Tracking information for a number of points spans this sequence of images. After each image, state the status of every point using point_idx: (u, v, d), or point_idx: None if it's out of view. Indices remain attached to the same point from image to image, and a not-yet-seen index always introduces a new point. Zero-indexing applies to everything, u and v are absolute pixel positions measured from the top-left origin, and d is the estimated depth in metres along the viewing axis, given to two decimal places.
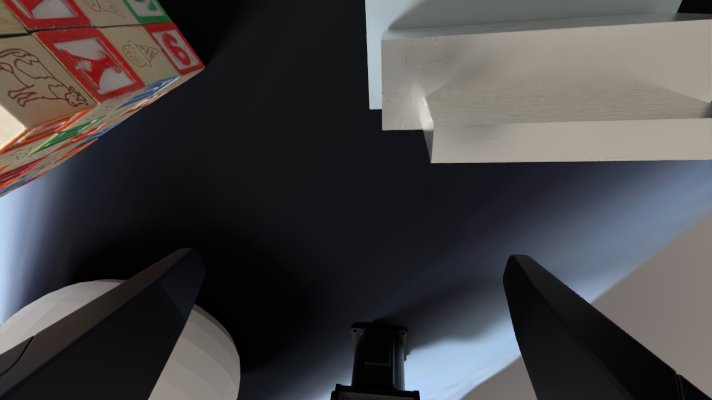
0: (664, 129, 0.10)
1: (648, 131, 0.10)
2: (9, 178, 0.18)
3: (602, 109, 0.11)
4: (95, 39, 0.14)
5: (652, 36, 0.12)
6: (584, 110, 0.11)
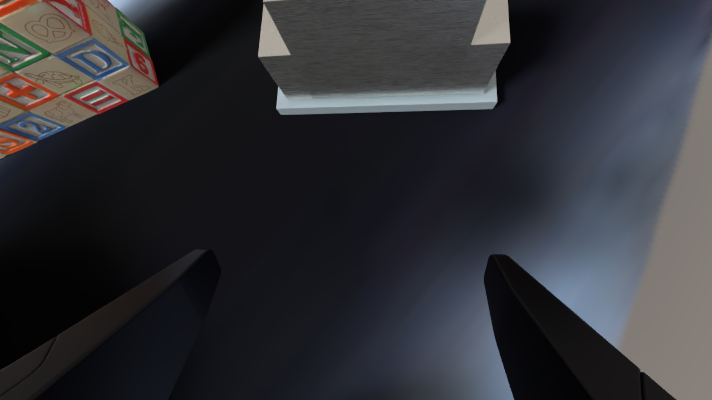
0: None
1: None
2: None
3: None
4: (76, 2, 0.20)
5: None
6: None
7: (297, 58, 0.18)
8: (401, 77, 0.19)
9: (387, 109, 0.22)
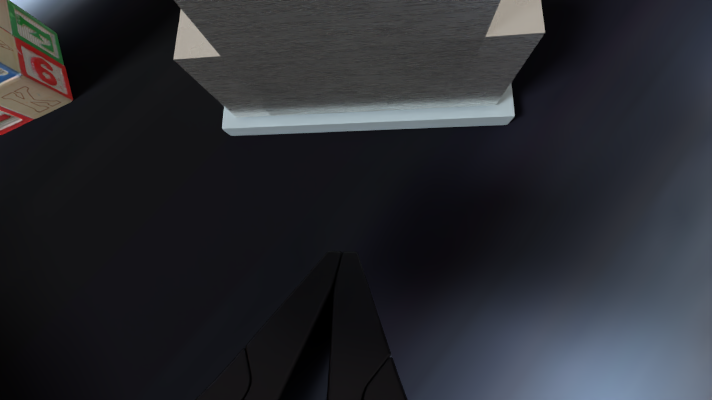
0: None
1: None
2: None
3: None
4: None
5: None
6: None
7: (231, 61, 0.12)
8: (384, 86, 0.14)
9: (369, 127, 0.17)
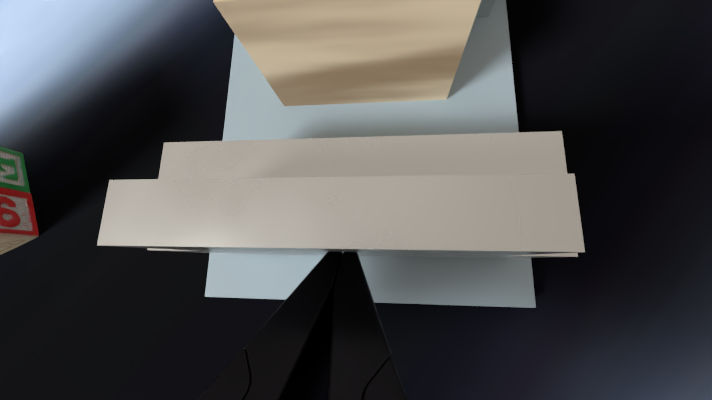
0: (447, 193, 0.06)
1: (425, 195, 0.06)
2: None
3: None
4: None
5: (454, 147, 0.10)
6: None
7: (214, 251, 0.10)
8: (388, 255, 0.12)
9: None
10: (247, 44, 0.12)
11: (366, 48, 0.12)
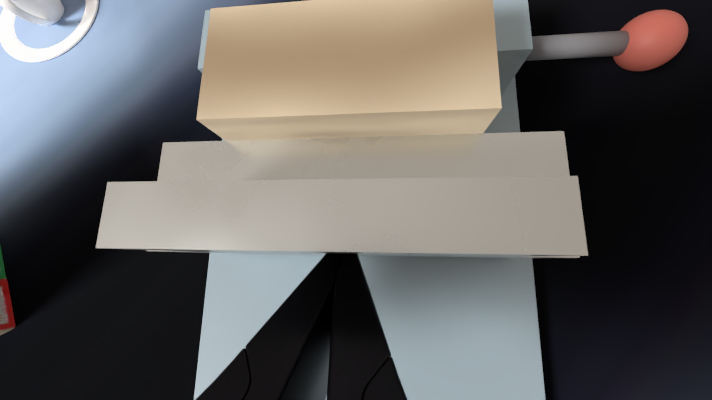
0: (449, 195, 0.06)
1: (426, 197, 0.06)
2: None
3: None
4: None
5: (456, 147, 0.10)
6: None
7: None
8: None
9: None
10: None
11: None
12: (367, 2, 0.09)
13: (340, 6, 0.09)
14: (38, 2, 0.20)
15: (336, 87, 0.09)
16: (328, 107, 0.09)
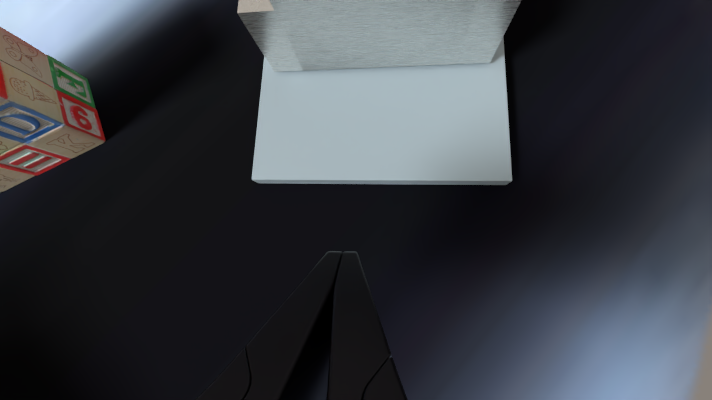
0: None
1: None
2: None
3: None
4: None
5: None
6: None
7: (281, 15, 0.15)
8: (399, 41, 0.17)
9: (382, 182, 0.19)
10: None
11: None
12: None
13: None
14: None
15: None
16: None
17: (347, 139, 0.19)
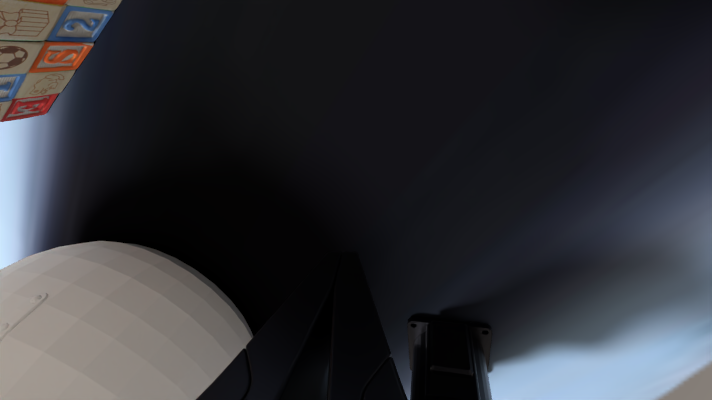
0: None
1: None
2: None
3: None
4: None
5: None
6: None
7: None
8: None
9: None
10: None
11: None
12: None
13: None
14: None
15: None
16: None
17: None
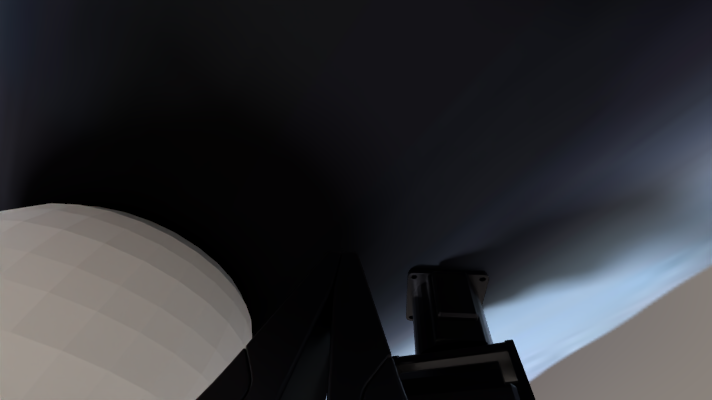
0: None
1: None
2: None
3: None
4: None
5: None
6: None
7: None
8: None
9: None
10: None
11: None
12: None
13: None
14: None
15: None
16: None
17: None
